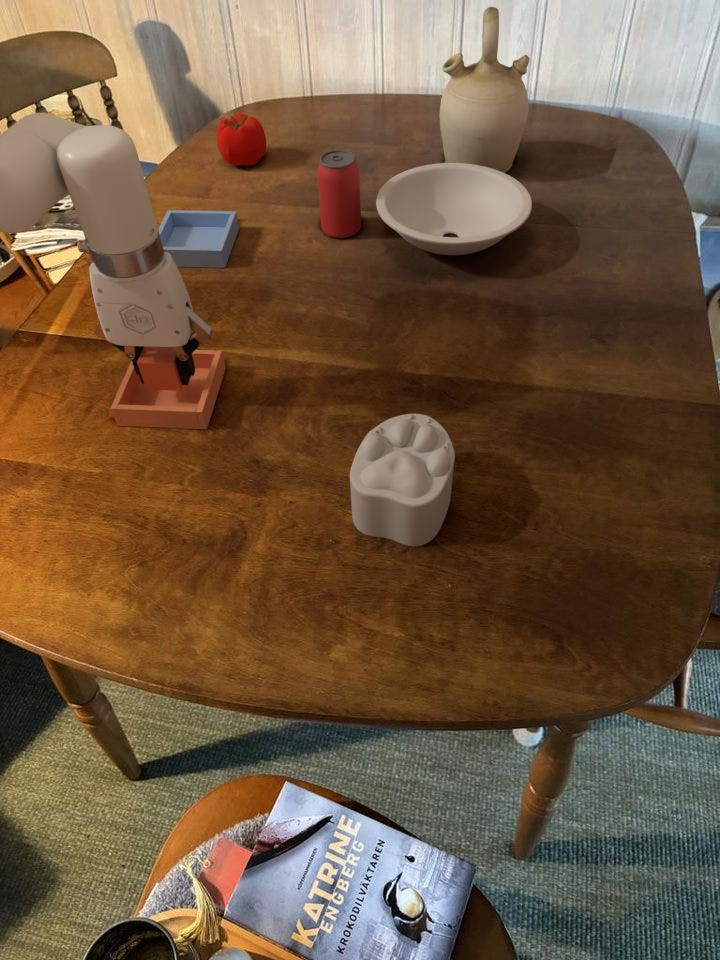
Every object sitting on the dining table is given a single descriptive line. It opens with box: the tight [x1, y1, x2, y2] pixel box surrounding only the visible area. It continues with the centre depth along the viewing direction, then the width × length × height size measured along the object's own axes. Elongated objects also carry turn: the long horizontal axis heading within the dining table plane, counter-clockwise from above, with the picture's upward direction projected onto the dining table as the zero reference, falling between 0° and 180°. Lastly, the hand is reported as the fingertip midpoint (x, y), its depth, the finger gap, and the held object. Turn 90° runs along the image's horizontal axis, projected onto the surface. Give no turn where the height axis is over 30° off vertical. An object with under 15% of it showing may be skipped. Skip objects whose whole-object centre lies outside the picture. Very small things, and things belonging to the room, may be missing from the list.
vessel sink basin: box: [375, 162, 533, 256], centre depth 114 cm, size 24×24×7 cm
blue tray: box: [158, 209, 240, 269], centre depth 116 cm, size 12×12×3 cm
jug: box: [439, 6, 530, 174], centre depth 122 cm, size 15×16×25 cm
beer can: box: [316, 149, 362, 239], centre depth 114 cm, size 7×7×12 cm
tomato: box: [216, 113, 267, 167], centre depth 132 cm, size 9×9×8 cm
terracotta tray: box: [110, 349, 227, 430], centre depth 93 cm, size 12×12×3 cm
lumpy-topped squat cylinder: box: [349, 413, 456, 547], centre depth 79 cm, size 10×13×9 cm
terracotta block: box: [137, 346, 183, 391], centre depth 90 cm, size 4×4×4 cm
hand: (167, 376), depth 92 cm, fingers closed on terracotta block, 4 cm apart
